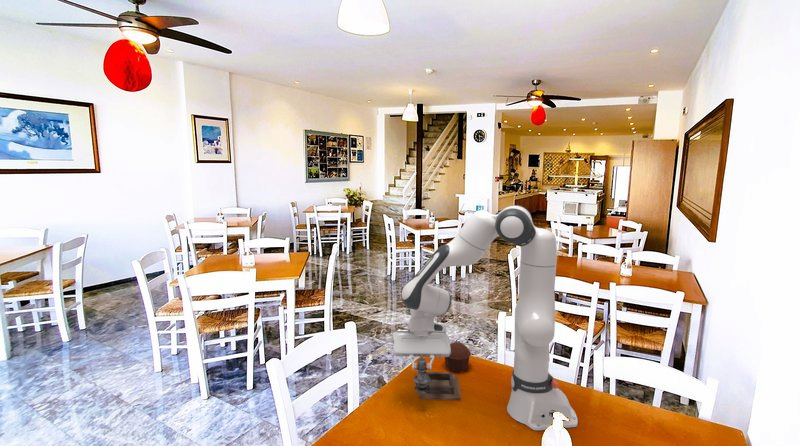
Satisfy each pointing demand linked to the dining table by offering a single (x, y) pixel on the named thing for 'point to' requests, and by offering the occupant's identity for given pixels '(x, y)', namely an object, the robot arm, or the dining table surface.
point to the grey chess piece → (422, 377)
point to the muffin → (458, 357)
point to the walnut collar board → (442, 387)
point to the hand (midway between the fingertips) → (421, 369)
